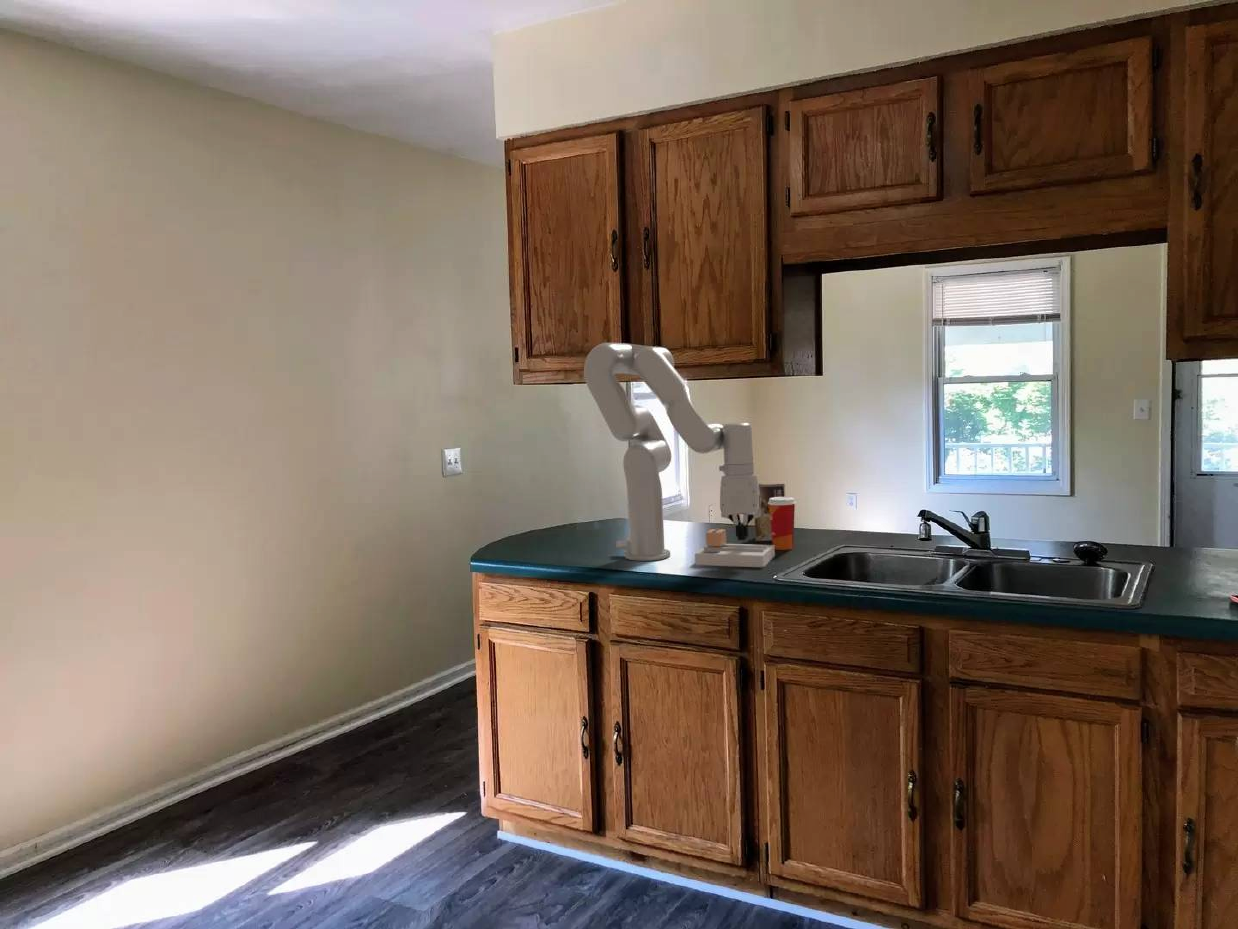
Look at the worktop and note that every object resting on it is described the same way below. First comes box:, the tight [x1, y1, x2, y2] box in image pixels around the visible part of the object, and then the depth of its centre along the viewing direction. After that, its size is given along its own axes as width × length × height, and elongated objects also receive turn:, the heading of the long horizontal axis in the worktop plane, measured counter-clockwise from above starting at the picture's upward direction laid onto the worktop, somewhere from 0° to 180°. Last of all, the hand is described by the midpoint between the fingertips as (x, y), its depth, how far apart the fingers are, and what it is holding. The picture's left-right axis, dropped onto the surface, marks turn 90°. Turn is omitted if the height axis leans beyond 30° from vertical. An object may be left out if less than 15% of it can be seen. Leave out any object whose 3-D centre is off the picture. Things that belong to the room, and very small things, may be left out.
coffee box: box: [754, 483, 786, 542], centre depth 272 cm, size 9×6×16 cm
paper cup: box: [768, 496, 797, 551], centre depth 257 cm, size 8×8×14 cm
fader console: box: [694, 543, 776, 568], centre depth 244 cm, size 18×14×4 cm
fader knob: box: [705, 527, 727, 547], centre depth 246 cm, size 4×5×5 cm
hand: (742, 539), depth 243 cm, fingers closed
